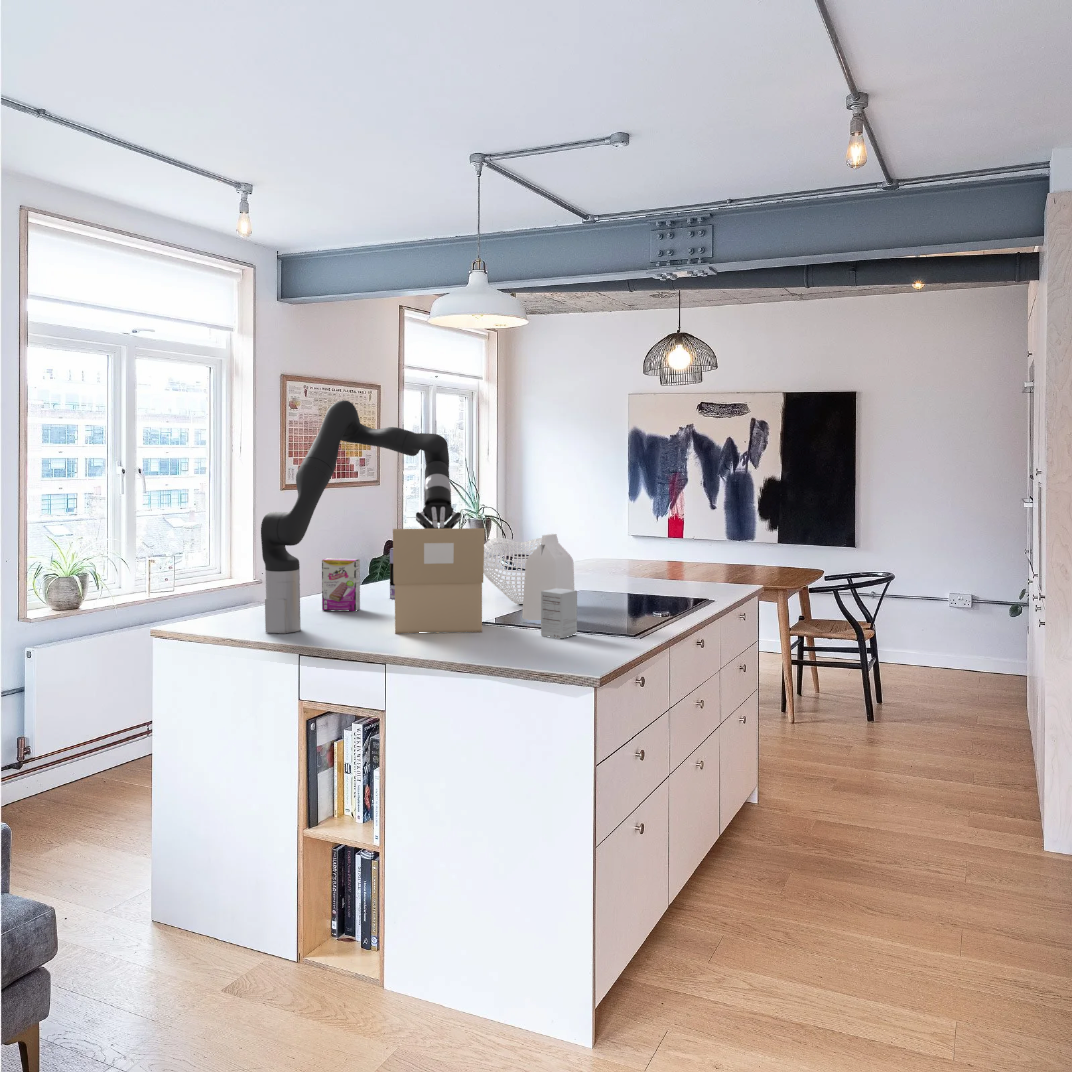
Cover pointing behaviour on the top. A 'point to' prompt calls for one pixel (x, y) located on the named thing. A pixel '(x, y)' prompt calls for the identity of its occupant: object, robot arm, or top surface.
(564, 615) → the supplement box
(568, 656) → the top surface
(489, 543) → the white mesh basket
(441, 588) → the carton
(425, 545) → the carton lid
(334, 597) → the candy bar box
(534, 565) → the milk
